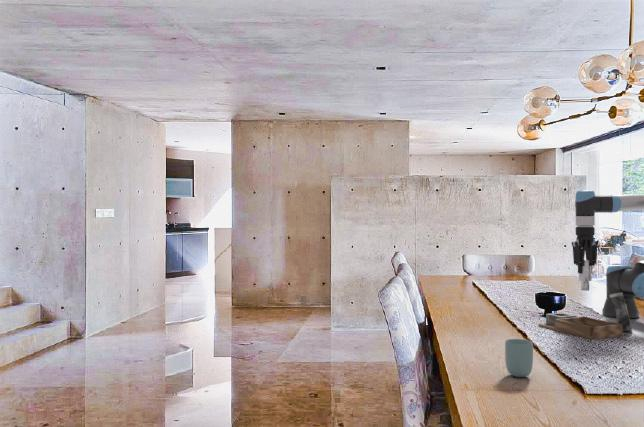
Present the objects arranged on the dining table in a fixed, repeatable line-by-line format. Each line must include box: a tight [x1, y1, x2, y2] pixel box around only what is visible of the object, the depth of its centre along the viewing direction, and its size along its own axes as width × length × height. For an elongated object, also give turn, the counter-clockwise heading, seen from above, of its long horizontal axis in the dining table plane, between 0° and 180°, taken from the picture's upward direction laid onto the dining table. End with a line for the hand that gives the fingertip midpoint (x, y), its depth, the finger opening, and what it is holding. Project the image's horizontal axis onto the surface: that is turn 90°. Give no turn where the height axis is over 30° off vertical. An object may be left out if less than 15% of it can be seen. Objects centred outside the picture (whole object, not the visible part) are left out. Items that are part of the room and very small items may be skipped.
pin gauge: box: [580, 259, 590, 292], centre depth 256 cm, size 3×3×13 cm
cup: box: [504, 338, 534, 378], centre depth 176 cm, size 8×8×10 cm
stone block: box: [609, 293, 633, 332], centre depth 241 cm, size 9×14×5 cm
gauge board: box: [537, 312, 624, 340], centre depth 240 cm, size 16×28×5 cm, turn 23°
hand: (585, 280), depth 256 cm, fingers closed on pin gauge, 3 cm apart
